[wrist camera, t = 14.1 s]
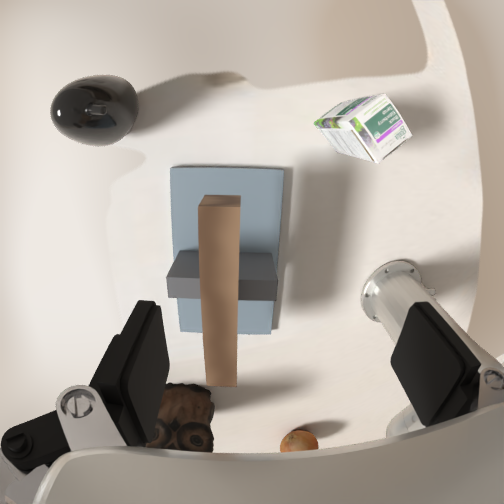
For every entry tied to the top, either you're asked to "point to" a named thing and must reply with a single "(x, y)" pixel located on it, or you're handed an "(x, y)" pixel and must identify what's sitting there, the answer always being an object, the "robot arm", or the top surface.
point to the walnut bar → (219, 285)
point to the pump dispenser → (95, 109)
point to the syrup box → (365, 128)
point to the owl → (184, 419)
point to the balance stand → (250, 245)
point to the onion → (299, 442)
